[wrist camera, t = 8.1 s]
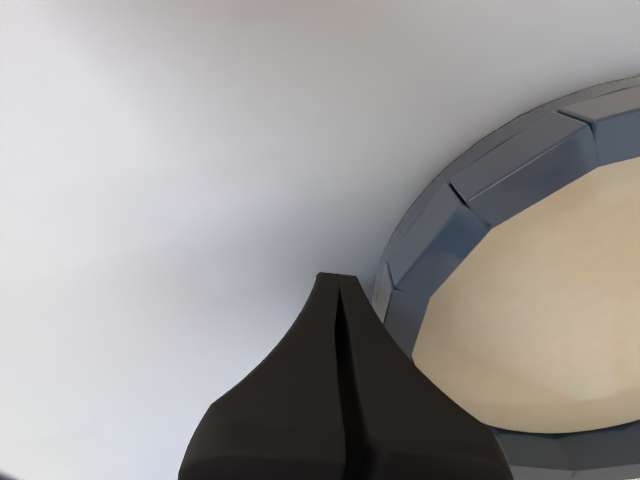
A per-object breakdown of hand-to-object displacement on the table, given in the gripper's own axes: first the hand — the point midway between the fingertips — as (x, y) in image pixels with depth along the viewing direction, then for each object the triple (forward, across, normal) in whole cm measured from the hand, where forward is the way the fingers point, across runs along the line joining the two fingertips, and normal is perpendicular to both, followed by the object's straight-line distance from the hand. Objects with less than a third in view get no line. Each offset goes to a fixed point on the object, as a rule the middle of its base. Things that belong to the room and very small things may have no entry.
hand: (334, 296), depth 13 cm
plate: (+1, -10, 0) cm, 10 cm away
